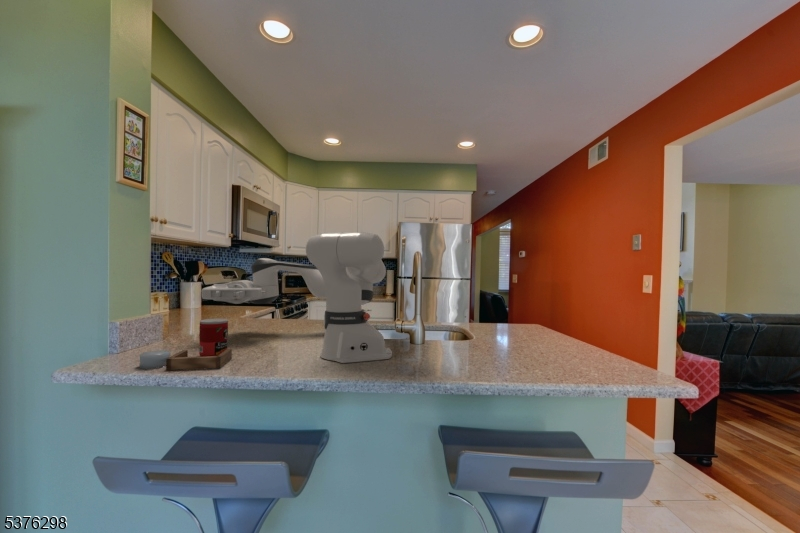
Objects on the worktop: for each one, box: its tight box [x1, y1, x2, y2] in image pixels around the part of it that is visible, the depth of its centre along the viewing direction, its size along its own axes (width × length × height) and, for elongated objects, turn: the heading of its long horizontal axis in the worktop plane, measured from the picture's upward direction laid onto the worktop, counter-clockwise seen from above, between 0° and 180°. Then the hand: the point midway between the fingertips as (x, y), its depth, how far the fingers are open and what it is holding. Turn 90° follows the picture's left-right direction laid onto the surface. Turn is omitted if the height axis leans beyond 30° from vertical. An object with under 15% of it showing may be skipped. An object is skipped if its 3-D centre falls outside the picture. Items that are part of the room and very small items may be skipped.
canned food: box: [198, 318, 229, 357], centre depth 108 cm, size 8×8×11 cm
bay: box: [165, 348, 233, 371], centre depth 98 cm, size 13×10×3 cm
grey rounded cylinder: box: [139, 349, 171, 370], centre depth 96 cm, size 7×7×4 cm
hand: (226, 294), depth 120 cm, fingers open, 4 cm apart
